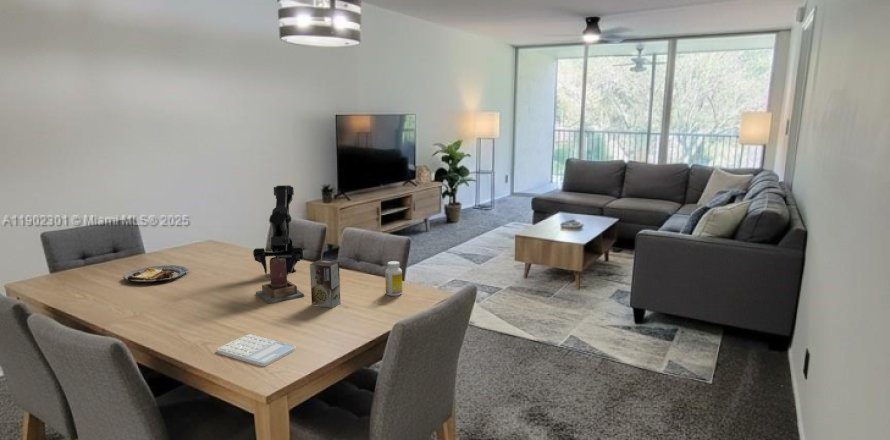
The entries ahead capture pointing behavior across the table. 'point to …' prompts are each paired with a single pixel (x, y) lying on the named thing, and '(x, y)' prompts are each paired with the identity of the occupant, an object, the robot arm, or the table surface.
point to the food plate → (155, 273)
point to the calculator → (256, 350)
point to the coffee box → (325, 283)
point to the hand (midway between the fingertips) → (278, 272)
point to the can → (278, 273)
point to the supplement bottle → (393, 279)
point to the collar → (279, 293)
